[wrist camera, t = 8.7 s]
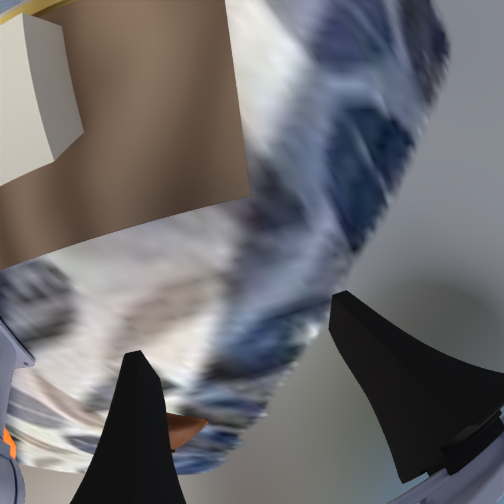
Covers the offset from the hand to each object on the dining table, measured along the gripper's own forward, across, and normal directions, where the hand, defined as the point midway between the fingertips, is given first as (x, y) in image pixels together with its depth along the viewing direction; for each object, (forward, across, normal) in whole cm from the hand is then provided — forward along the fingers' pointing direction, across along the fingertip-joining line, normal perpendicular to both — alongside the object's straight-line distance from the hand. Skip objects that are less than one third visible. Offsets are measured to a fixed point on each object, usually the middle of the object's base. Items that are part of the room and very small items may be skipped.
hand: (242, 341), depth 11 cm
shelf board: (+9, +6, -8) cm, 14 cm away
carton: (+9, +7, -10) cm, 15 cm away
